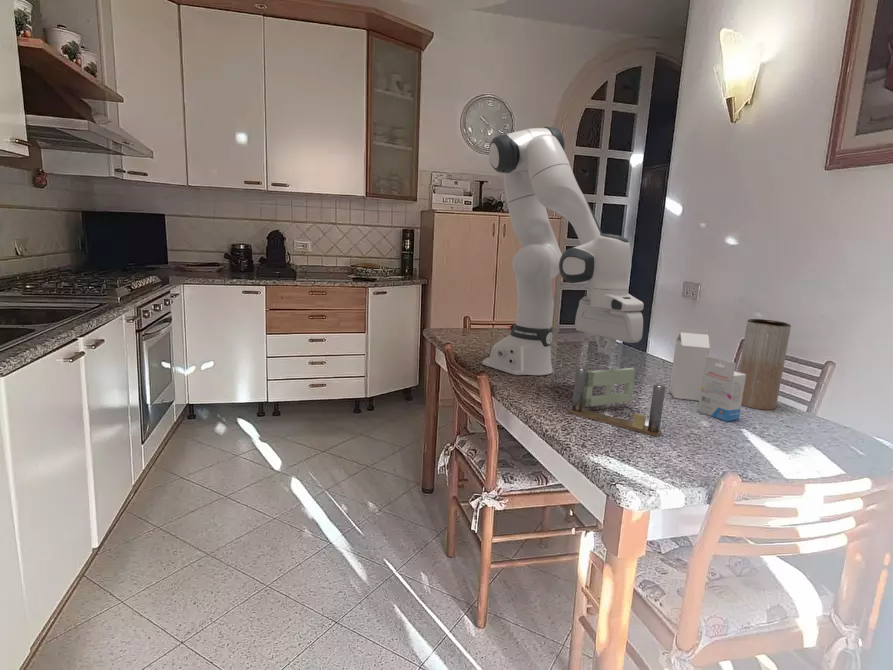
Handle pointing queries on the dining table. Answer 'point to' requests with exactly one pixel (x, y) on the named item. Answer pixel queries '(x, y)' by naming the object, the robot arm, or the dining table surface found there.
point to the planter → (763, 362)
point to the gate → (608, 386)
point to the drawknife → (636, 425)
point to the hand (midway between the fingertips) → (604, 353)
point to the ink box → (721, 390)
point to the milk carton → (689, 364)
